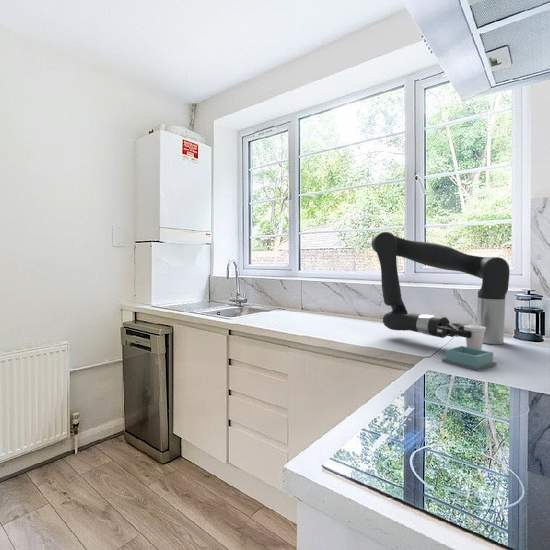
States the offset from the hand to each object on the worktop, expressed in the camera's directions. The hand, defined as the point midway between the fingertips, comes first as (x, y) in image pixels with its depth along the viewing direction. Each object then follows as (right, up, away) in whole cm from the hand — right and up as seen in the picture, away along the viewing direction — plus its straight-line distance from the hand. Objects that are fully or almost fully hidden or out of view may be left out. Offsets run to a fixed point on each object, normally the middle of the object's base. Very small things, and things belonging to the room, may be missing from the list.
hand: (477, 333), depth 116 cm
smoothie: (-1, -8, +1) cm, 8 cm away
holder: (-8, -8, -8) cm, 14 cm away
